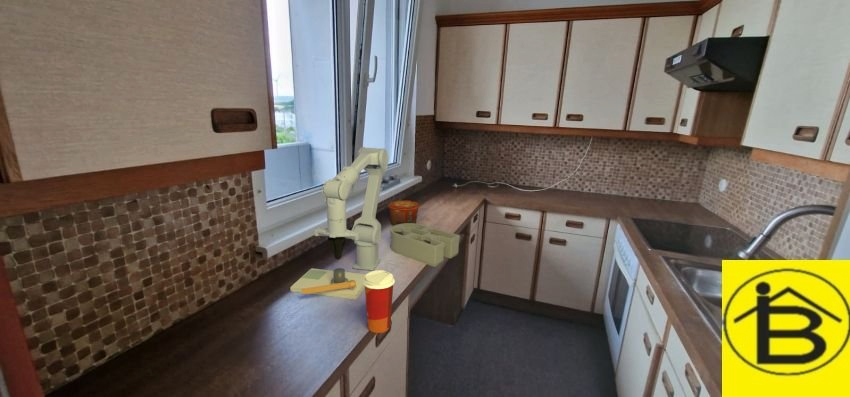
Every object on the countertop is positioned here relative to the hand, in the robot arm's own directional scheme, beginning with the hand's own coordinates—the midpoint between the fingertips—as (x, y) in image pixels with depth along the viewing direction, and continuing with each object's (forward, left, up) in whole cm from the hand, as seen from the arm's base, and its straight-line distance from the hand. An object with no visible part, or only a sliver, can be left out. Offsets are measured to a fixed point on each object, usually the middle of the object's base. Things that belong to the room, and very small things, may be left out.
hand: (338, 258), depth 113 cm
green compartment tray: (-36, +20, -11) cm, 43 cm away
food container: (-70, +5, -11) cm, 71 cm away
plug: (0, 0, -10) cm, 10 cm away
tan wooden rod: (+6, 0, -8) cm, 10 cm away
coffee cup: (+18, +19, -11) cm, 28 cm away
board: (-1, -3, -10) cm, 11 cm away
